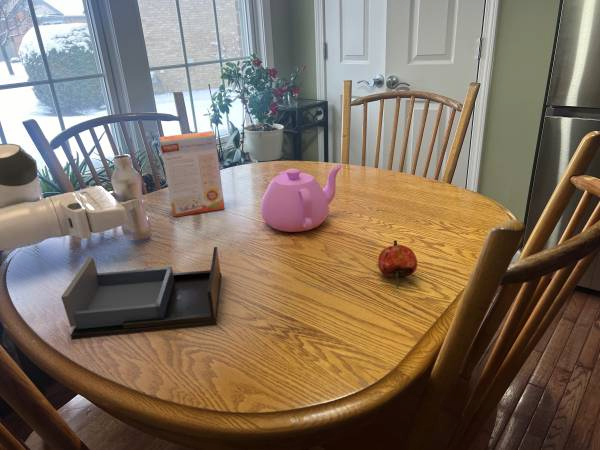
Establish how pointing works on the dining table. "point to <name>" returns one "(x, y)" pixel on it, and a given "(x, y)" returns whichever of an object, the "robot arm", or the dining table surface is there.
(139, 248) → the dining table surface
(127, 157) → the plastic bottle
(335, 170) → the teapot
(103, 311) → the gray sliding drawer
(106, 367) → the dining table surface
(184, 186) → the cracker box
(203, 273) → the base
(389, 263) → the pomegranate
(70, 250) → the dining table surface
